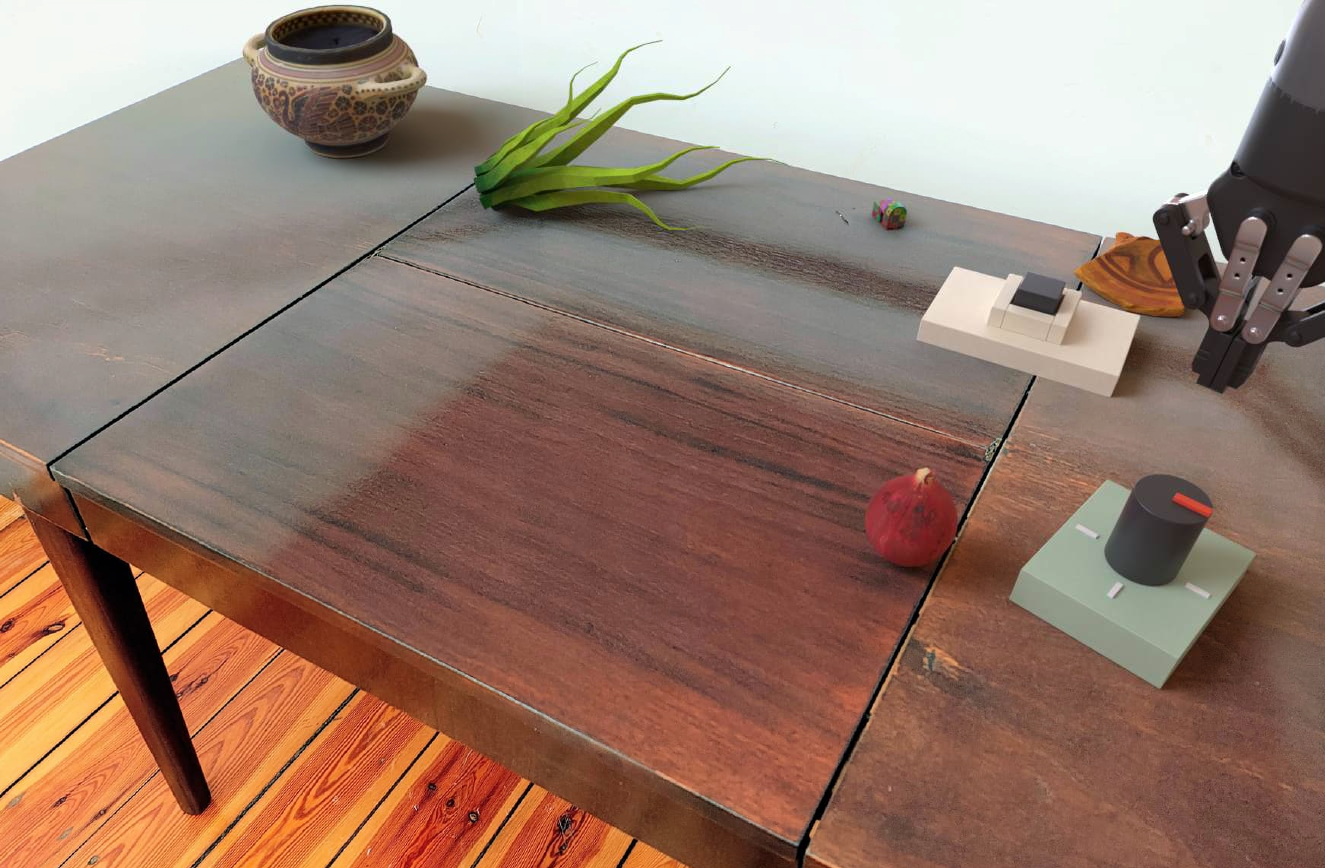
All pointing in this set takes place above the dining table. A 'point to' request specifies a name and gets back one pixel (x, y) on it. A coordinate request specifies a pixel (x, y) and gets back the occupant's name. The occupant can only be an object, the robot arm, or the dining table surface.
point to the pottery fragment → (1134, 277)
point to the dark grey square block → (1039, 293)
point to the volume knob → (1157, 529)
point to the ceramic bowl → (334, 77)
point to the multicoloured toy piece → (889, 213)
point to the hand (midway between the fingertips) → (1214, 382)
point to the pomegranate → (911, 519)
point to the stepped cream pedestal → (1030, 331)
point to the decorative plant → (537, 178)
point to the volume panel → (1127, 591)
